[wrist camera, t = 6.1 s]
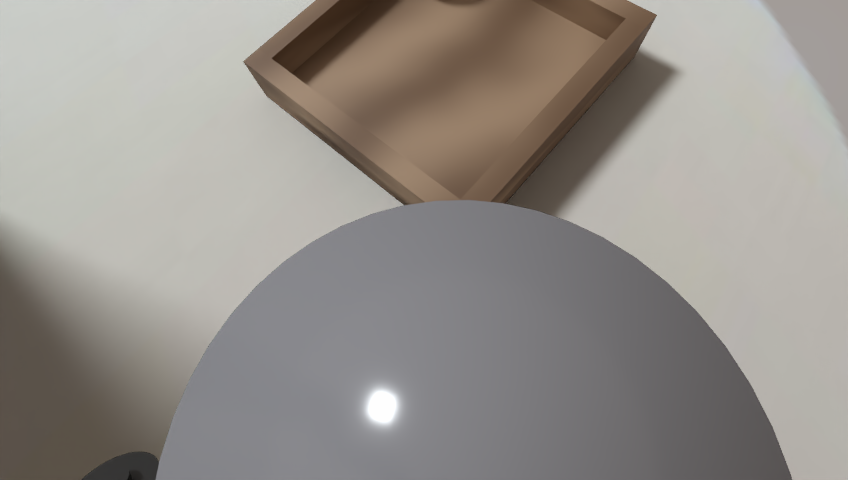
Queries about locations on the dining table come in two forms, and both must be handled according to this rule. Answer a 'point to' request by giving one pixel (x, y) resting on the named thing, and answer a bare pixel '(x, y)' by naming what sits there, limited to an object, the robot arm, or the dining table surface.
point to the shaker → (467, 363)
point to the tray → (447, 84)
